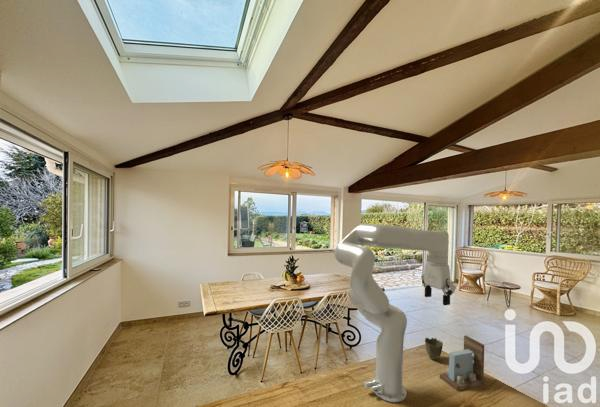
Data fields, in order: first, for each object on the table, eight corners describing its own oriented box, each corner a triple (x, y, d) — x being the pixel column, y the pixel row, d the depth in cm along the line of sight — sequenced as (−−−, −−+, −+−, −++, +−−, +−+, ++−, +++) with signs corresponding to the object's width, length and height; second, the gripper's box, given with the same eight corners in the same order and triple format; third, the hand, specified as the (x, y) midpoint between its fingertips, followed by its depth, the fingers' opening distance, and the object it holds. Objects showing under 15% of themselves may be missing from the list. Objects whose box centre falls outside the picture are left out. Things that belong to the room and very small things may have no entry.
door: (455, 382, 103) (456, 356, 104) (448, 377, 106) (449, 352, 107) (474, 378, 106) (475, 353, 107) (467, 373, 110) (468, 349, 110)
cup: (438, 354, 126) (438, 337, 126) (445, 363, 119) (445, 345, 119) (422, 353, 127) (422, 336, 127) (427, 362, 119) (428, 344, 119)
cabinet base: (456, 390, 101) (457, 349, 101) (439, 377, 109) (440, 339, 109) (484, 384, 105) (484, 344, 106) (465, 372, 113) (466, 335, 113)
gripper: (415, 256, 119) (414, 294, 119) (448, 264, 103) (446, 309, 103) (429, 255, 122) (428, 293, 121) (462, 264, 105) (461, 307, 105)
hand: (436, 300), depth 112 cm, fingers open, 9 cm apart
